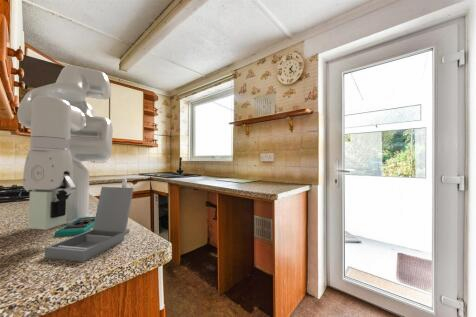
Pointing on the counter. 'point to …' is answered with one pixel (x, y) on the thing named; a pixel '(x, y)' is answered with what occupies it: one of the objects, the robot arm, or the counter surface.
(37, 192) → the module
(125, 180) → the clear capped tube
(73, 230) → the digital multimeter
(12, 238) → the counter surface
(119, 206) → the lid
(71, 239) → the case
